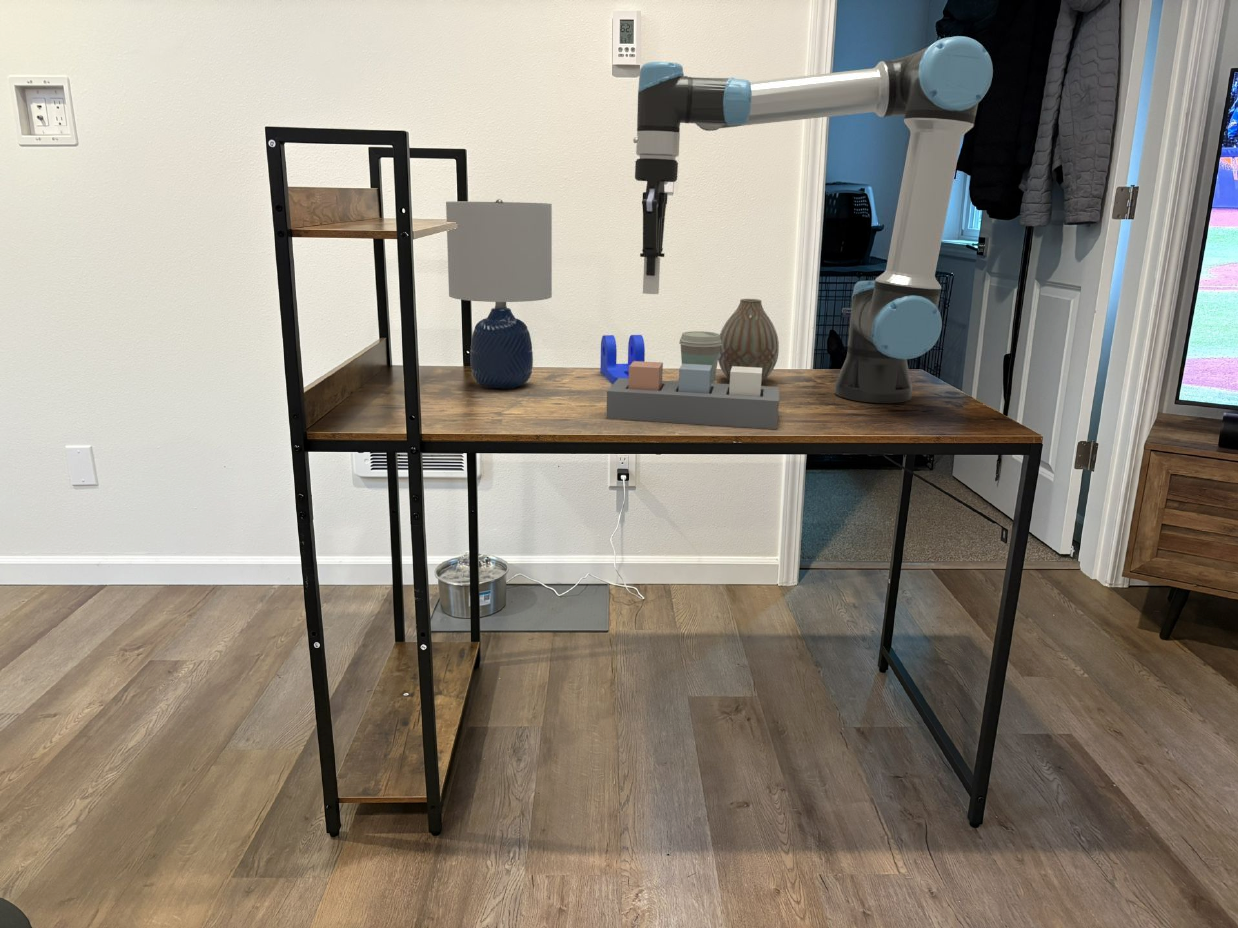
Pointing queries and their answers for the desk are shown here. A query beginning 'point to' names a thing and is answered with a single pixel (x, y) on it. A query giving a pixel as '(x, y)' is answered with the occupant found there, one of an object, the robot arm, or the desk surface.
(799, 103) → the robot arm
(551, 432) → the desk surface
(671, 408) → the grey socket block
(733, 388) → the white key
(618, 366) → the bracket
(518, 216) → the lamp
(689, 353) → the coffee cup
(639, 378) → the terracotta key
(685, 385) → the slate key
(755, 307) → the vase
